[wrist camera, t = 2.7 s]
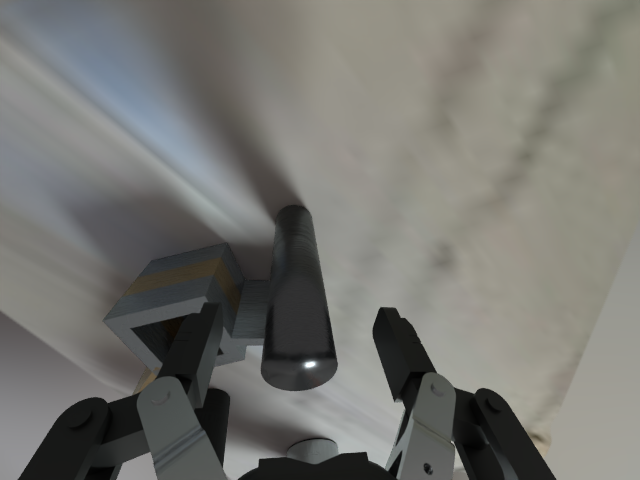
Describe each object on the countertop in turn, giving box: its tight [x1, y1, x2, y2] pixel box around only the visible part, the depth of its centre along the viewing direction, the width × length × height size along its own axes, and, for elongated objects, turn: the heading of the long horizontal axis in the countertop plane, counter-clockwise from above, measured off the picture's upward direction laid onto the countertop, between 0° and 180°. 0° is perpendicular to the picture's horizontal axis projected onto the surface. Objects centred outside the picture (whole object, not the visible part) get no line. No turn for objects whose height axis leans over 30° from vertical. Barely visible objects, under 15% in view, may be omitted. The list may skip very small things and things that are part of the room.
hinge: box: [103, 243, 332, 395], centre depth 23 cm, size 11×20×7 cm, turn 102°
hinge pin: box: [261, 205, 338, 391], centre depth 17 cm, size 3×3×14 cm
